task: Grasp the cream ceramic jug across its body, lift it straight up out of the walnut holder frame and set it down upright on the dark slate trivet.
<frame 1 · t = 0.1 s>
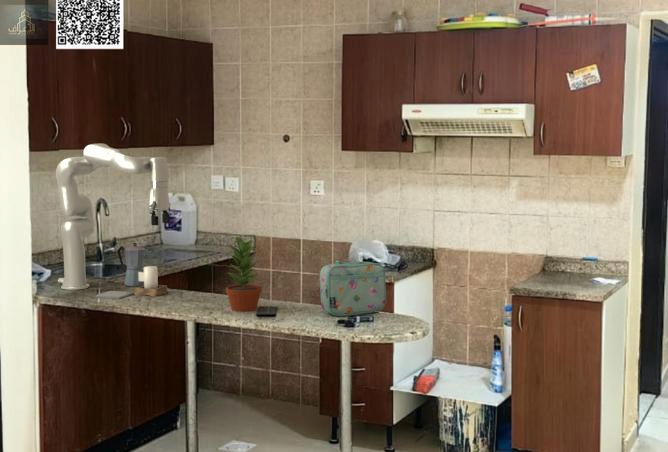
hand: (160, 224, 438), 31 cm above the worktop, fingers open, 9 cm apart
moka pot: (133, 285, 463), on the worktop
potted plant: (245, 309, 405), on the worktop
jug: (148, 280, 440), in the holder
lunch box: (352, 314, 395), on the worktop
holder: (151, 293, 441), on the worktop
trivet: (114, 295, 436), on the worktop
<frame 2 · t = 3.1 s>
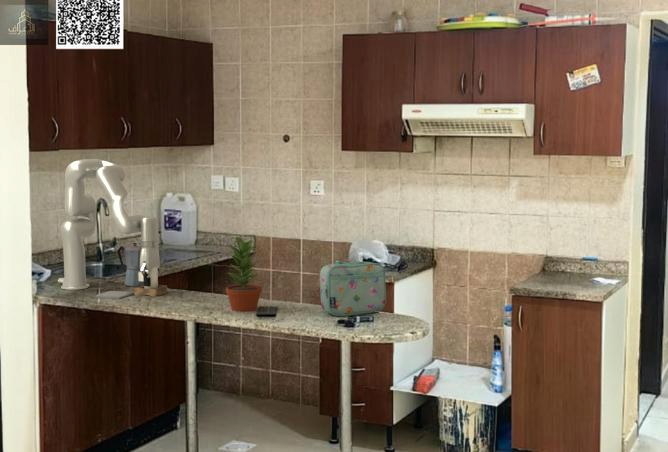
hand: (151, 284, 440), 4 cm above the worktop, fingers closed on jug, 6 cm apart
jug: (148, 280, 440), in the holder, touching gripper
everything else where it was.
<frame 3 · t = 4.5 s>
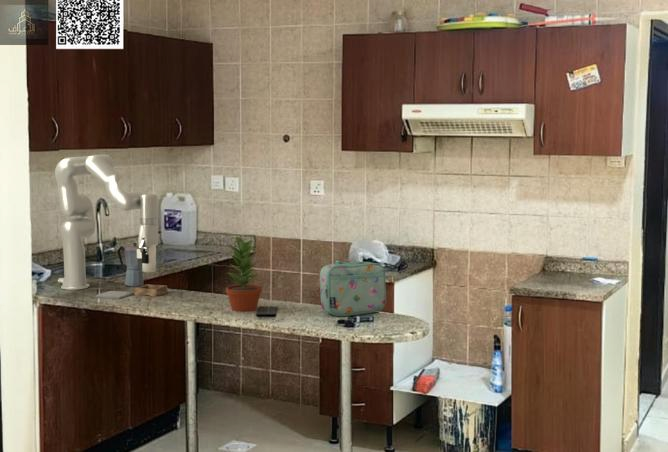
hand: (149, 261, 439), 14 cm above the worktop, fingers closed on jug, 6 cm apart
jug: (146, 257, 439), point 16 cm above the worktop, touching gripper
everything else where it was.
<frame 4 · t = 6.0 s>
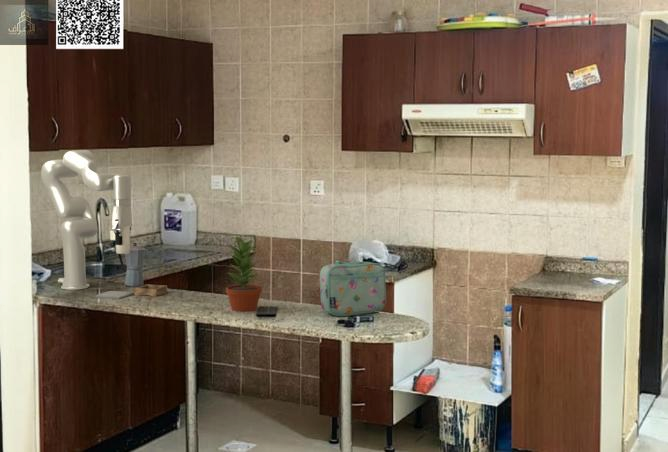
hand: (122, 243, 435), 23 cm above the worktop, fingers closed on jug, 6 cm apart
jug: (120, 239, 435), point 25 cm above the worktop, touching gripper
everything else where it was.
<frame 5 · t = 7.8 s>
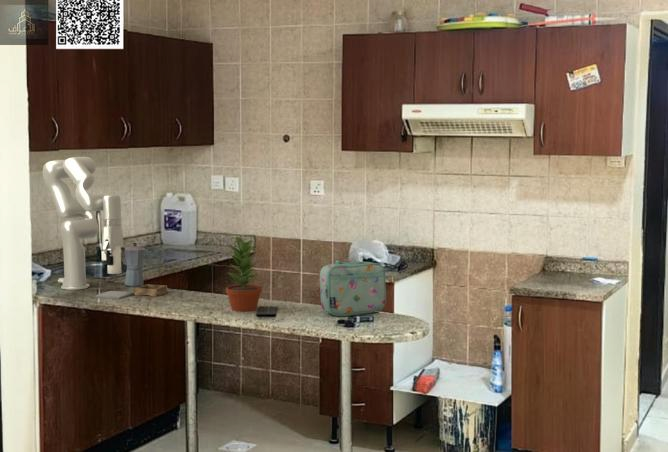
hand: (114, 263, 434), 14 cm above the worktop, fingers closed on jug, 6 cm apart
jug: (111, 259, 435), point 16 cm above the worktop, touching gripper
everything else where it was.
when the fingers open (7 cm above the worktop, at t = 9.4 s): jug drops 2 cm, resting on trivet.
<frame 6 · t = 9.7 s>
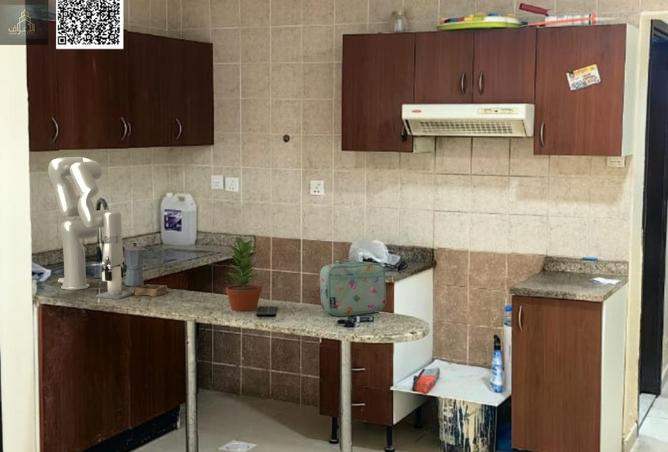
hand: (114, 278, 435), 7 cm above the worktop, fingers open, 8 cm apart
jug: (111, 280, 436), on the trivet, point 7 cm above the worktop
everything else where it was.
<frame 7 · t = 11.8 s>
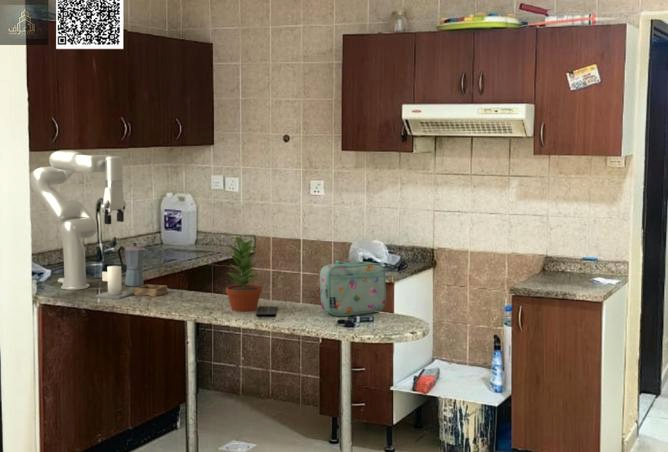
hand: (114, 222, 440), 31 cm above the worktop, fingers open, 9 cm apart
nothing on the worktop moved.
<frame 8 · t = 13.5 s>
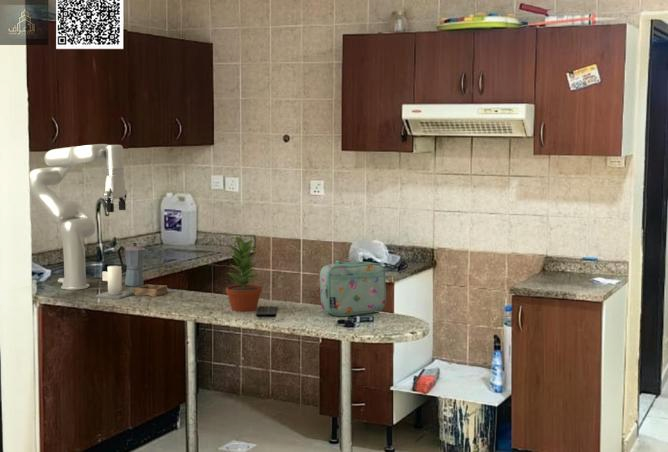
hand: (116, 211, 443), 36 cm above the worktop, fingers open, 9 cm apart
nothing on the worktop moved.
at the end: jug inside the target area on the trivet (0.2 cm from its centre), point 6.9 cm above the trivet's base; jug tilted 1°; the gripper is holding nothing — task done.
